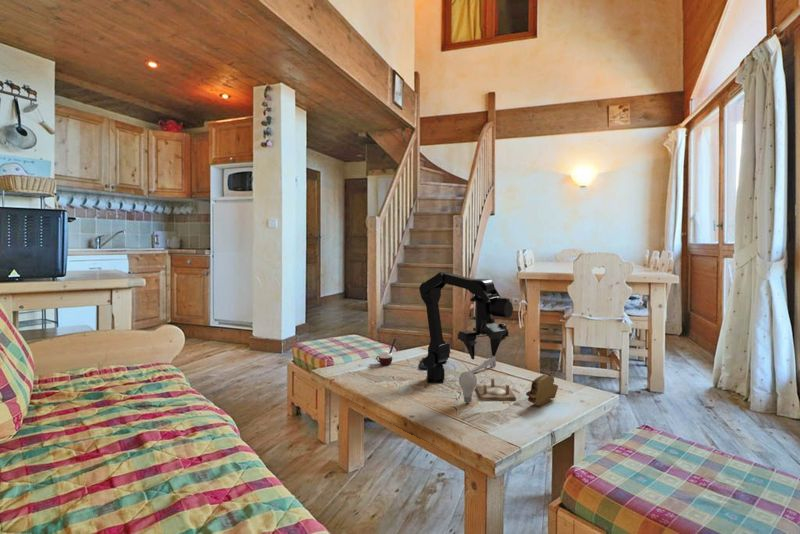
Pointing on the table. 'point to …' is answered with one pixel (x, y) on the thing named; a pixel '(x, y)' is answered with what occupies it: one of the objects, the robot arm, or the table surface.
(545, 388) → the wooden carving
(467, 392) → the lightbulb
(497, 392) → the pin holder
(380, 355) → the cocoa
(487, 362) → the caliper
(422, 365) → the handheld game console
